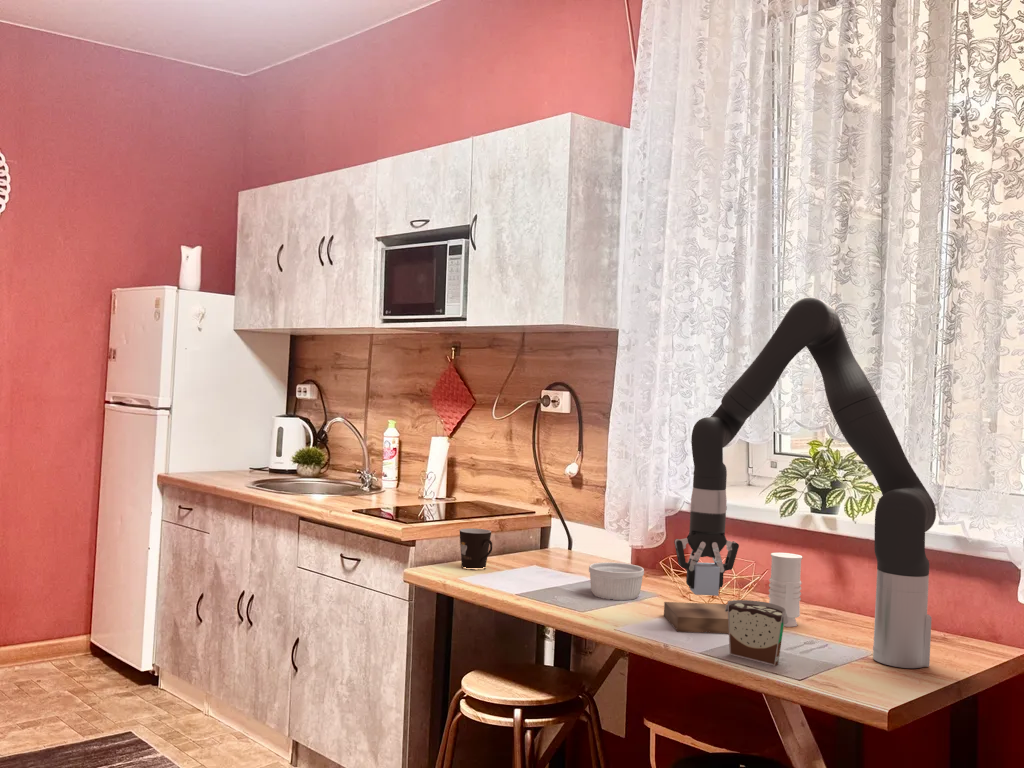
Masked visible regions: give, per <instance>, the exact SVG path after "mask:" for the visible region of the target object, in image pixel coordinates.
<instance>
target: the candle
mask: <svg viewBox="0 0 1024 768" xmlns="http://www.w3.org/2000/svg"><path fill="white" fill-rule="evenodd" d="M770 557H771V565H770V567H771V568H770V578H769V579H768V581H769V584H768V587H769V589H768V593H769V594H768V598H769V602H768V603H771V604H775V605H778V606H781V607H783V608H784V609H785V610H786V613H787V617H788V623H787V624H784V627H787V628H789V627H797V626H798V623H797V620H796V618H800V616H801V610H800V601H801V600H802V598H801V596H802V592H801V590H802V586H801V585H802V584H803V581H801V572H802V571H801V570H802V559H803V556H802V555H800V554H797V553H796V554H795V553H791V552H790V553H789V552H771V553H770Z"/></svg>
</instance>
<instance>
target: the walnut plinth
mask: <svg viewBox="0 0 1024 768" xmlns="http://www.w3.org/2000/svg"><path fill="white" fill-rule="evenodd" d="M663 604H664V605H663V616H664V617H665V619H666V620H667V621H668V622H669V623H670V625H672V627H673V628H674V629H675V630H676V632H678V633H679V632H682V633H683V632H685V633H704V632H707V634H708V632H709V633H711V634H712V633H713V634H729V627H728V611H726V612H725V608H726V604H727V603H726V604H725V603H724V604H723V603H705V602H704V603H703V602H702V603H701V602H674V601H664V603H663Z"/></svg>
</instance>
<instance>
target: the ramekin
mask: <svg viewBox="0 0 1024 768" xmlns="http://www.w3.org/2000/svg"><path fill="white" fill-rule="evenodd" d="M588 573H589V578H590V589H591V593H593V595H594V596H595V595H596V596H595V597H597V596H599V597H598V598H600V597H602V598H601V599H604V598H606V599H605V600H610V599H613V600H612V601H632V600H636V599H637V598H638V596H640V594H641V589H642V584H643V583H642V582H643V576H644V575H645V568H643V567H642V566H640V565H637V564H636V565H635V564H631V563H625V562H614V561H613V562H612V561H611V562H610V561H609V562H607V561H605V562H594V563H591V564H590V565H589V566H588Z"/></svg>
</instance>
